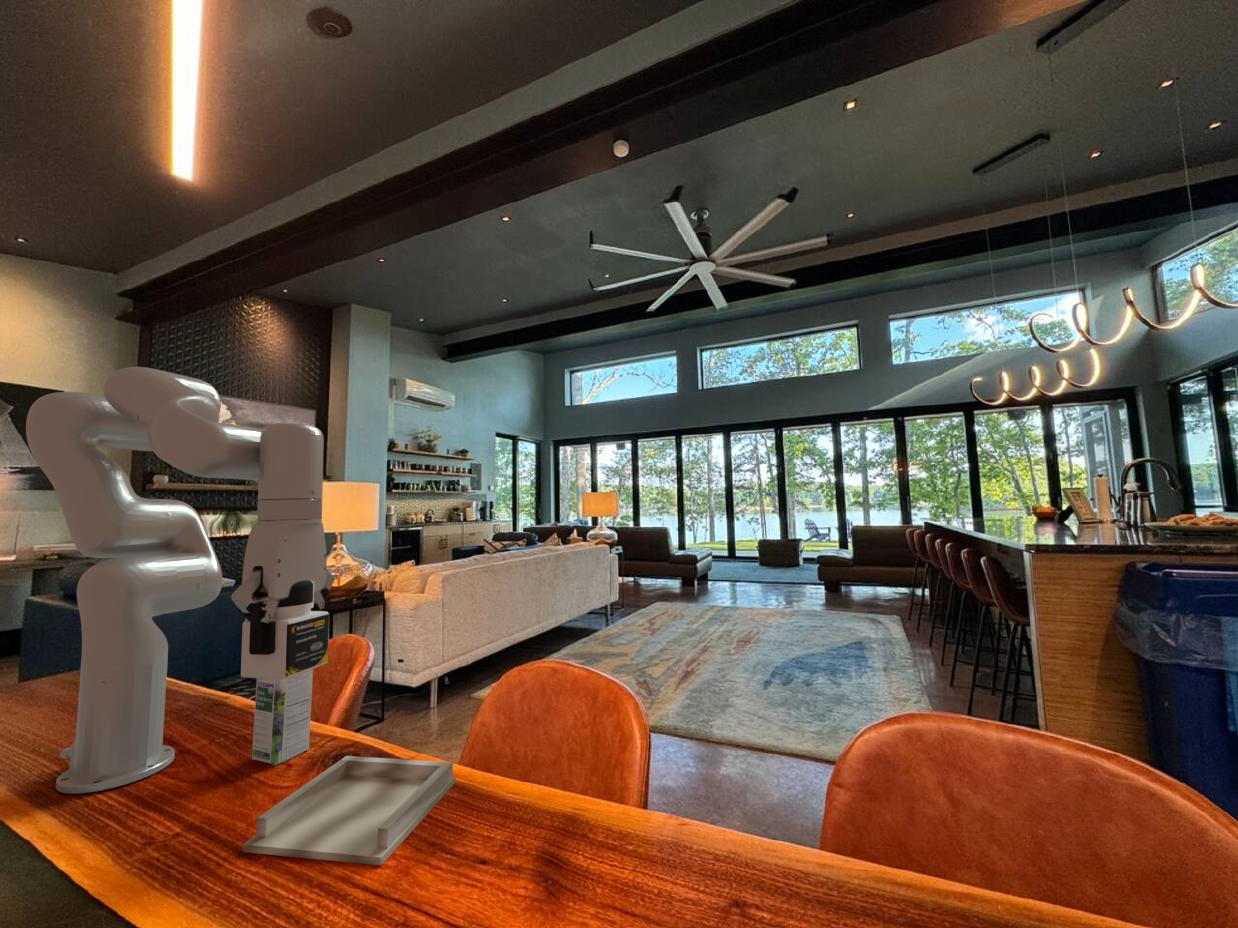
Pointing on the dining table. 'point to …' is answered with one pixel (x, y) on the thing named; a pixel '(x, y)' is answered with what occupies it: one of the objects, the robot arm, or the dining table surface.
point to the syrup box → (282, 718)
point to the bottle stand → (353, 810)
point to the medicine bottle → (290, 638)
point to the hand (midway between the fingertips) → (286, 644)
